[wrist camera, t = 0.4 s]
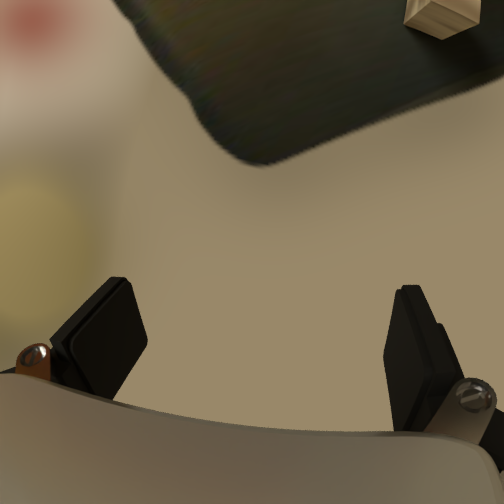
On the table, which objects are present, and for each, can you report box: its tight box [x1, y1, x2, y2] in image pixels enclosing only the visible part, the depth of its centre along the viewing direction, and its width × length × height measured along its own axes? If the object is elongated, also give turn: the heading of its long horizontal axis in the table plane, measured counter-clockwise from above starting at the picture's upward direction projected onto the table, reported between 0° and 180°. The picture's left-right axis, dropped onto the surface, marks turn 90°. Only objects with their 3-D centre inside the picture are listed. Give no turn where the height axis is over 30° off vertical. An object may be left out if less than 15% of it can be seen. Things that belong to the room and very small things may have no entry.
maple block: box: [404, 0, 481, 40], centre depth 21 cm, size 5×5×10 cm
